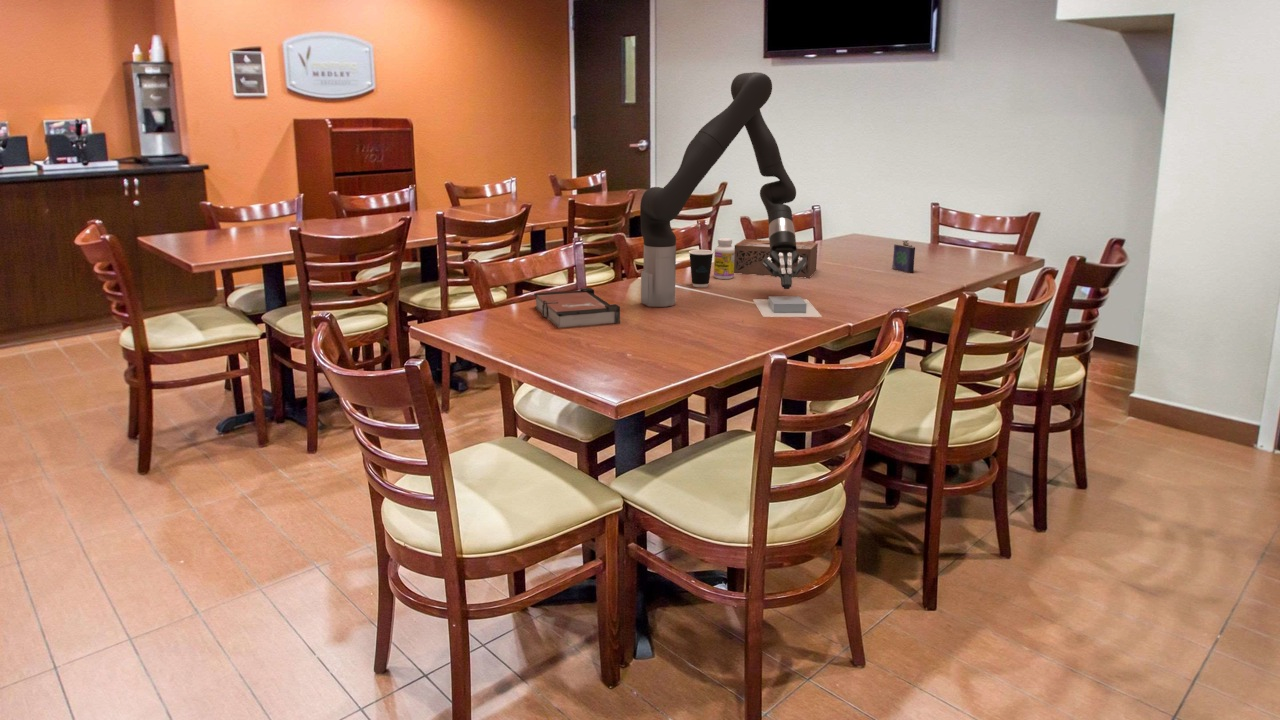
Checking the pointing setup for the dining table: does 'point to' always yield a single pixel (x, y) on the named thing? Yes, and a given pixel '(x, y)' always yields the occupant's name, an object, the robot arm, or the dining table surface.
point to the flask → (903, 257)
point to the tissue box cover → (755, 251)
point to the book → (576, 309)
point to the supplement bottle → (724, 259)
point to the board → (767, 312)
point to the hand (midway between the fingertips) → (787, 287)
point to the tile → (787, 304)
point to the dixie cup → (700, 267)
